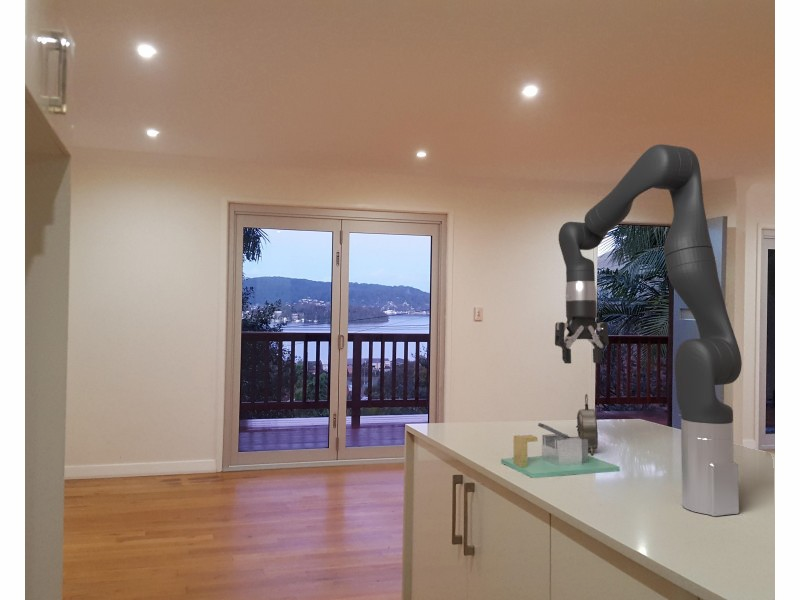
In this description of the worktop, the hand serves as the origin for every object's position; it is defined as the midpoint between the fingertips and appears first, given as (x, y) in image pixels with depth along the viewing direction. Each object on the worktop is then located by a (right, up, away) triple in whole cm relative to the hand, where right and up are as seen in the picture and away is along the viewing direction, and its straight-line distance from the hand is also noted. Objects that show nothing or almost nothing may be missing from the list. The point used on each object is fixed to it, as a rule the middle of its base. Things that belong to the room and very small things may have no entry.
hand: (582, 363), depth 158 cm
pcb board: (-7, -26, -2) cm, 27 cm away
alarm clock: (+6, -27, +16) cm, 31 cm away
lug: (-15, -25, -5) cm, 29 cm away
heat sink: (-4, -25, -1) cm, 25 cm away
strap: (-6, -18, -2) cm, 19 cm away
